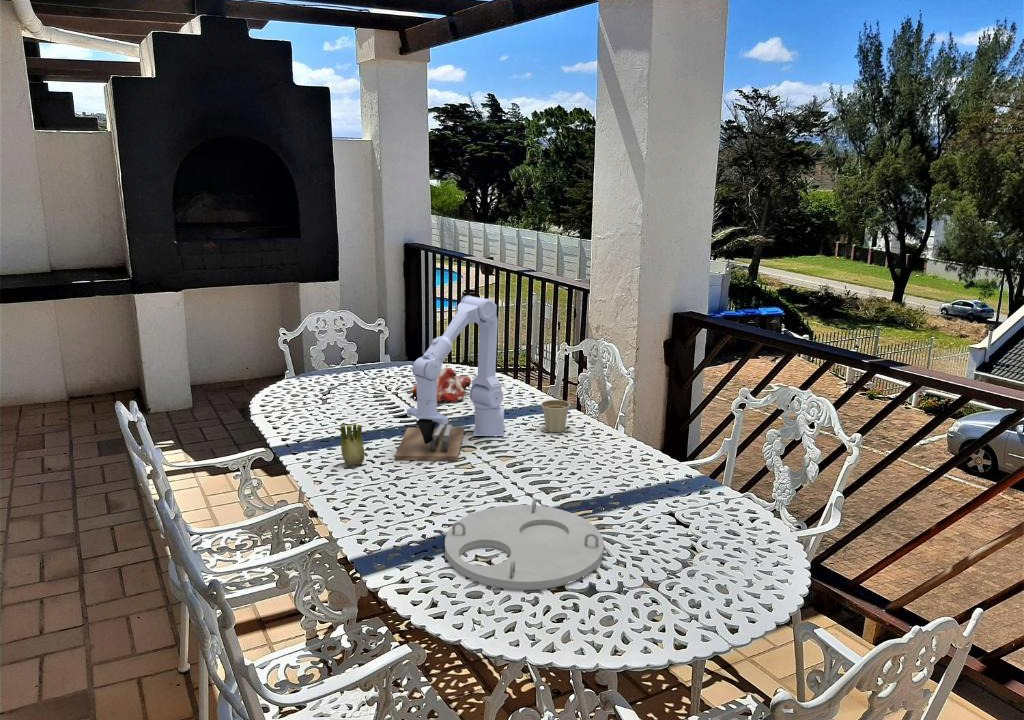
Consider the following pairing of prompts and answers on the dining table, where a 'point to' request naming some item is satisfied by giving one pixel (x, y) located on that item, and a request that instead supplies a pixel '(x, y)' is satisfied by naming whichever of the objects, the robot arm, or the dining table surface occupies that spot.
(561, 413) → the flower pot
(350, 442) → the fennel bulb
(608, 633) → the dining table surface
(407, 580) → the dining table surface
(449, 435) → the fixed tong arm
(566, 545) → the slab
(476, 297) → the robot arm
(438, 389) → the meat
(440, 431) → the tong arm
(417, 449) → the walnut board
